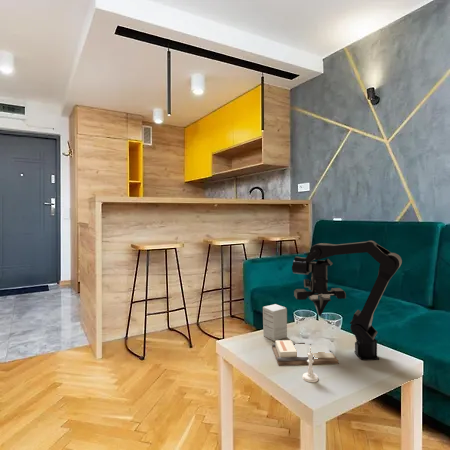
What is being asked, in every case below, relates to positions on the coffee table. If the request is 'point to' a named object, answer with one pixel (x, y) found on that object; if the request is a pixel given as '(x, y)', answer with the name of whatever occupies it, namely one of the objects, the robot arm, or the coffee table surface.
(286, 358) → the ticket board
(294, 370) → the coffee table surface
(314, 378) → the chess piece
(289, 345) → the cream flat box
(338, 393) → the coffee table surface
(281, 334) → the grey drawer cabinet
